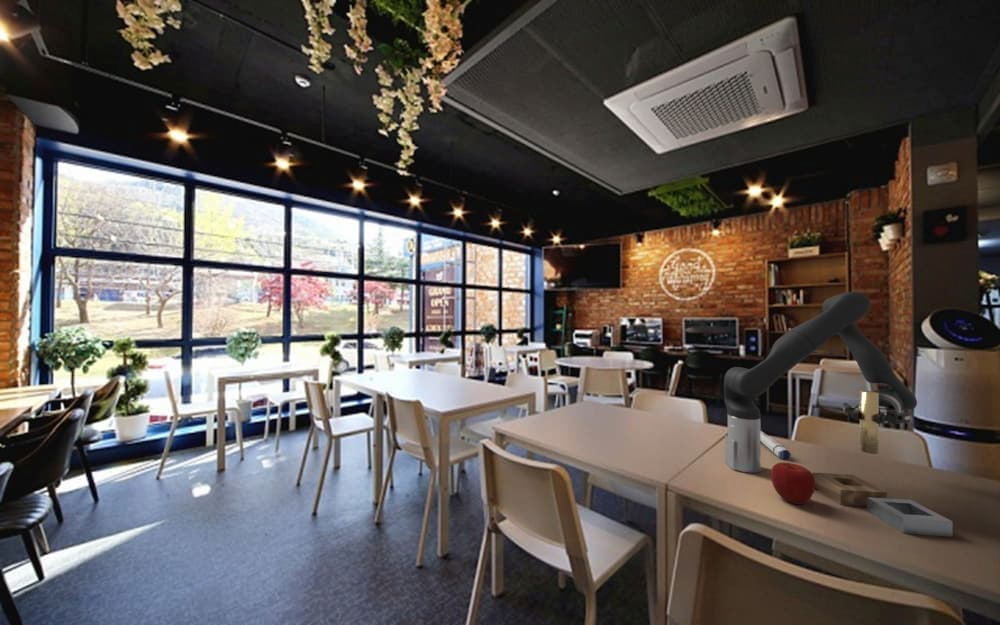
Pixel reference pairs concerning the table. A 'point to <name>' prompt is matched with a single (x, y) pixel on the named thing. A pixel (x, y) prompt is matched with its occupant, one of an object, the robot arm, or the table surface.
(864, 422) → the brass axle
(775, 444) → the white marker pen
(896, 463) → the table surface
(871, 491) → the walnut block
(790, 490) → the apple
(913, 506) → the grey steel socket block
